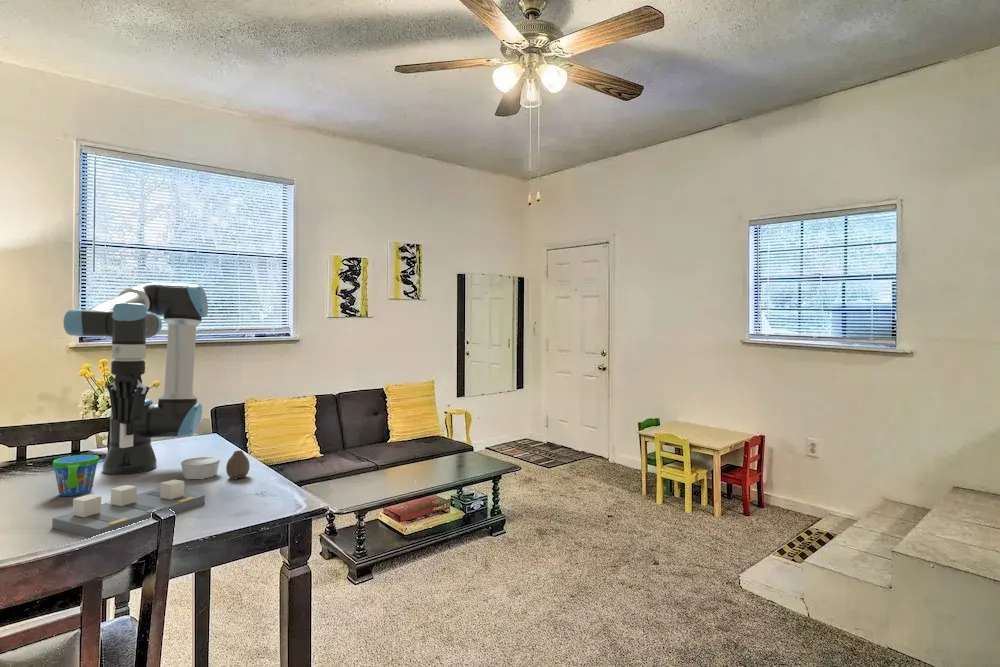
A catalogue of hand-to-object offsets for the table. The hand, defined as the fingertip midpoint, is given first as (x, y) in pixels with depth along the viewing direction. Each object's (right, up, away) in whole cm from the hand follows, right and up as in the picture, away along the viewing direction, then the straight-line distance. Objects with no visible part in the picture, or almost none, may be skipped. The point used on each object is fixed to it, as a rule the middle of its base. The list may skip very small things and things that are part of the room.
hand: (126, 446), depth 144 cm
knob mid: (+2, -14, -3) cm, 15 cm away
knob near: (-2, -14, -12) cm, 19 cm away
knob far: (+11, -15, +3) cm, 18 cm away
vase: (+15, -17, +31) cm, 39 cm away
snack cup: (-23, -16, +11) cm, 30 cm away
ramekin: (+2, -17, +32) cm, 36 cm away
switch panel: (+5, -17, -5) cm, 18 cm away
